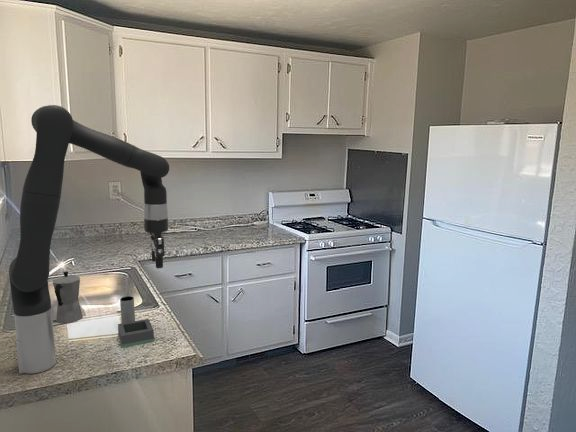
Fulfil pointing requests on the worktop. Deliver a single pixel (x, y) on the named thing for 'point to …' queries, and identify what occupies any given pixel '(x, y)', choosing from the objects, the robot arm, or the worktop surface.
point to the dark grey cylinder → (127, 309)
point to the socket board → (135, 333)
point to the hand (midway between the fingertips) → (157, 264)
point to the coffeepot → (67, 298)
